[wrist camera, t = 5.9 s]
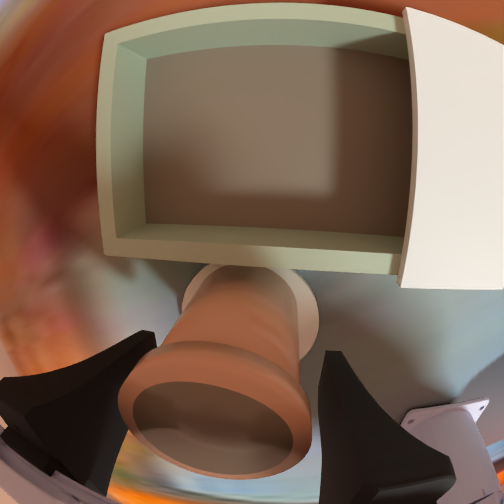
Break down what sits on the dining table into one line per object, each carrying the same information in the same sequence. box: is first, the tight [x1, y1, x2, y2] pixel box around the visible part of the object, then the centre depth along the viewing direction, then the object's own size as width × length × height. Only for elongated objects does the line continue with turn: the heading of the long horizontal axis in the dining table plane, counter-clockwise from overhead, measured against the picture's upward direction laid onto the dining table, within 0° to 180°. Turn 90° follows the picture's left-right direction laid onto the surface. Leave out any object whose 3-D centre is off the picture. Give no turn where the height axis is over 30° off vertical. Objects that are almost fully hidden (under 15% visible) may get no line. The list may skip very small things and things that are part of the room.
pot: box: [118, 265, 312, 480], centre depth 10 cm, size 6×6×8 cm
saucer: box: [182, 264, 319, 360], centre depth 14 cm, size 7×7×1 cm
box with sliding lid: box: [96, 3, 504, 289], centre depth 10 cm, size 11×18×4 cm, turn 89°
